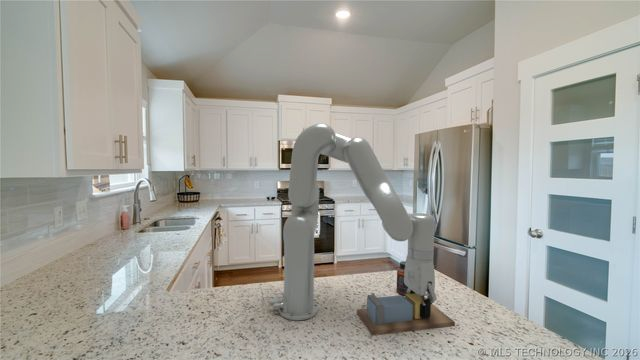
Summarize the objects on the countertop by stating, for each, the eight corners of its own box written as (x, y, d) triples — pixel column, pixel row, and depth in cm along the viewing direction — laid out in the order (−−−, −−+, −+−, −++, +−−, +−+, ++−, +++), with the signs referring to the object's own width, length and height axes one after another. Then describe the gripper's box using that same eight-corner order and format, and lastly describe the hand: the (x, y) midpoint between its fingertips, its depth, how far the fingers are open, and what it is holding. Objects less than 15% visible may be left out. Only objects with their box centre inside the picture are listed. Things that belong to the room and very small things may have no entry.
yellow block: (415, 318, 80) (415, 302, 80) (404, 309, 86) (405, 294, 86) (430, 317, 81) (430, 301, 81) (419, 307, 87) (419, 293, 87)
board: (372, 335, 74) (372, 331, 74) (356, 313, 86) (357, 309, 86) (454, 325, 80) (454, 321, 79) (429, 306, 91) (429, 302, 91)
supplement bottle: (414, 297, 98) (415, 266, 98) (397, 295, 99) (397, 264, 99) (411, 290, 104) (412, 260, 103) (395, 288, 105) (396, 259, 105)
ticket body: (375, 325, 76) (376, 306, 76) (365, 312, 84) (365, 294, 84) (413, 321, 79) (414, 302, 79) (400, 308, 86) (401, 291, 86)
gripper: (395, 246, 91) (394, 299, 91) (426, 263, 74) (424, 328, 74) (415, 246, 92) (414, 298, 93) (450, 262, 76) (448, 325, 76)
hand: (418, 311), depth 84 cm, fingers closed on yellow block, 5 cm apart
